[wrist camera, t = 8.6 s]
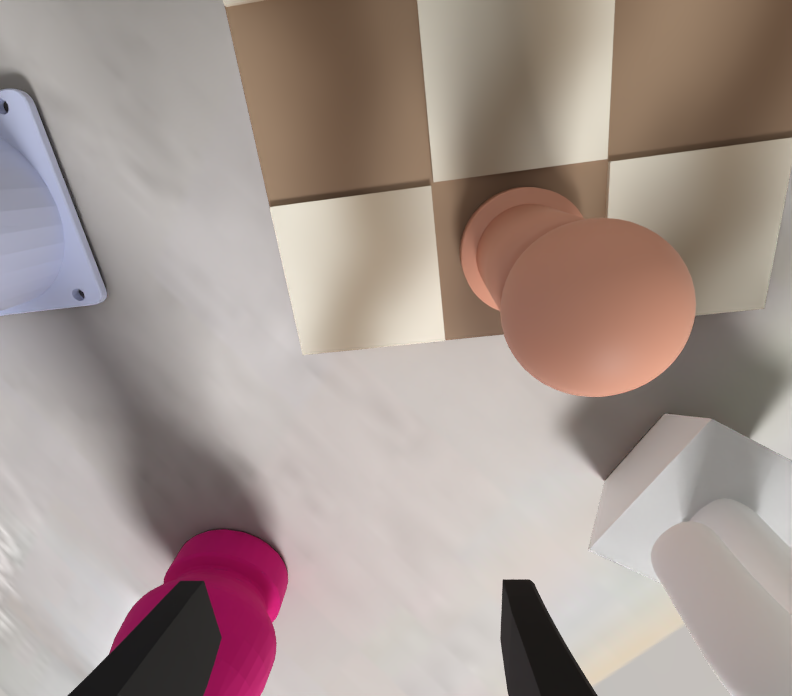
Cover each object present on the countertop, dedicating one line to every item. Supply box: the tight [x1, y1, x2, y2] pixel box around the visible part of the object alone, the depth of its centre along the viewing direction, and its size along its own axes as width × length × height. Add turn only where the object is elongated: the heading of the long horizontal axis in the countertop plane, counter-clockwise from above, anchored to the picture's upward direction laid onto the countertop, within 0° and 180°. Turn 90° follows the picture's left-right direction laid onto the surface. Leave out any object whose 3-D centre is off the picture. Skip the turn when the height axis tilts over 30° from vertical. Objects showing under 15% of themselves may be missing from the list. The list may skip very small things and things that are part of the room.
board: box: [223, 0, 792, 355], centre depth 15 cm, size 18×18×1 cm
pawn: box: [460, 187, 696, 397], centre depth 12 cm, size 4×4×9 cm
